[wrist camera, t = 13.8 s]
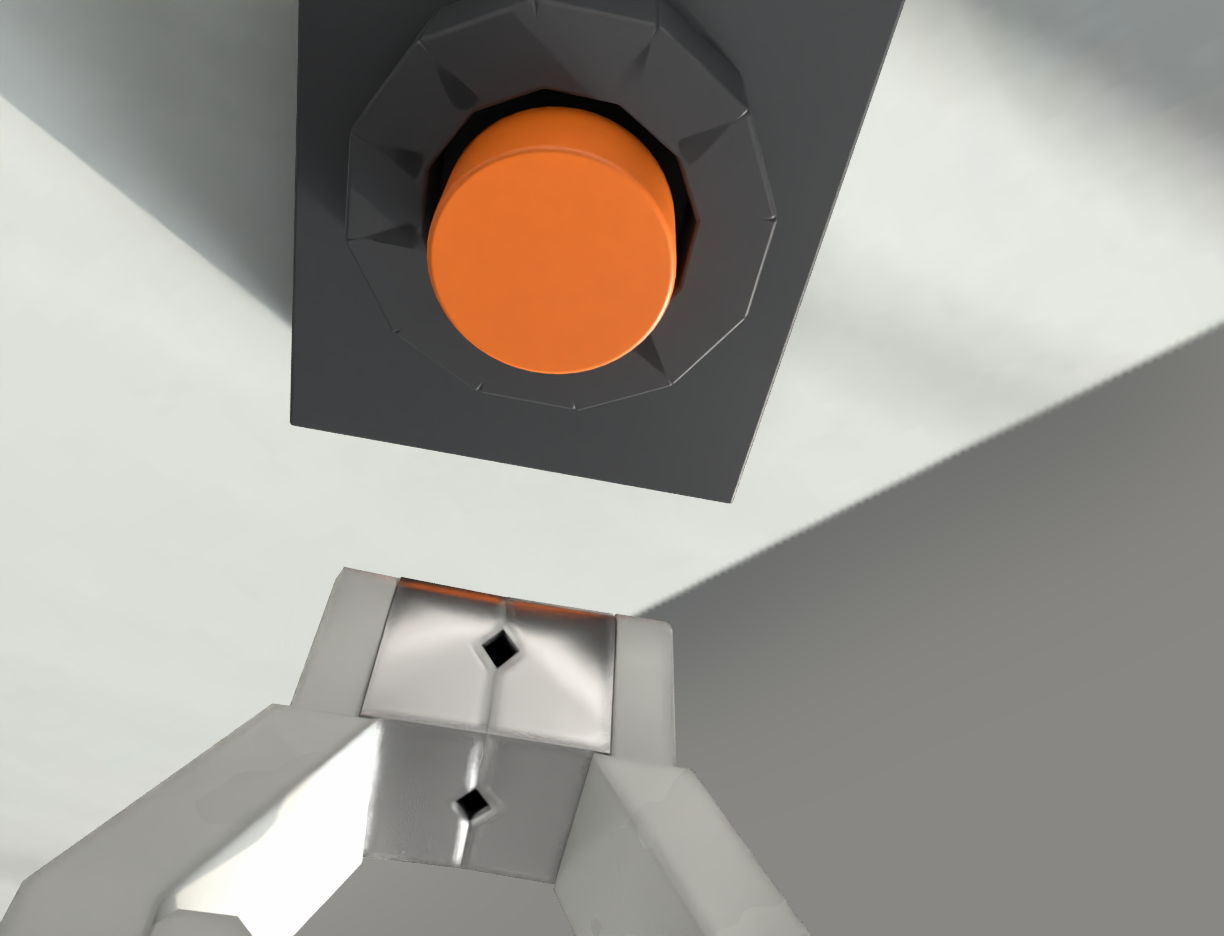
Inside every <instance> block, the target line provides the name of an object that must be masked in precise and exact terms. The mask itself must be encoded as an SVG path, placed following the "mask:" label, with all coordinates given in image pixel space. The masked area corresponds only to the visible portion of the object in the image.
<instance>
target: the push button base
mask: <svg viewBox="0 0 1224 936" xmlns="http://www.w3.org/2000/svg"><path fill="white" fill-rule="evenodd" d="M904 2H905V0H299V19H298V67H297V114H296V162H295V209H294V257H293V305H292V352H291V400H290V423H291V425H294V426H299V427H305V428H310V429H316V430H321V431H327V432H333V433H338V434H344V435H349V436H355V437H361V438H366V439H372V440H377V441H383V442H389V443H394V444H400V445H405V446H411V447H417V448H422V449H428V450H433V451H439V452H444V453H450V454H456V455H461V456H467V457H472V458H478V459H484V460H489V461H495V462H500V463H506V464H512V465H517V466H523V467H528V468H534V469H540V470H545V471H551V472H556V473H562V474H567V475H573V476H579V477H584V478H590V479H595V480H601V481H607V482H612V483H618V484H623V485H629V486H635V487H640V488H646V489H651V490H657V491H662V492H668V493H674V494H679V495H685V496H690V497H696V498H702V499H707V500H713V501H718V502H724V503H732V502H733V499H734V497H735V494H736V491H737V488H738V485H739V482H740V479H741V476H742V473H743V470H744V467H745V465H746V462H747V459H748V456H749V453H750V450H751V447H752V444H753V441H754V438H755V436H756V433H757V430H758V427H759V424H760V421H761V418H762V415H763V412H764V409H765V406H766V404H767V401H768V398H769V395H770V392H771V389H772V386H773V383H774V380H775V377H776V374H777V372H778V369H779V366H780V363H781V360H782V357H783V354H784V351H785V348H786V345H787V342H788V340H789V337H790V334H791V331H792V328H793V325H794V322H795V319H796V316H797V313H798V311H799V308H800V305H801V302H802V299H803V296H804V293H805V290H806V287H807V284H808V281H809V279H810V276H811V273H812V270H813V267H814V264H815V261H816V258H817V255H818V252H819V249H820V247H821V244H822V241H823V238H824V235H825V232H826V229H827V226H828V223H829V220H830V218H831V215H832V212H833V209H834V206H835V203H836V200H837V197H838V194H839V191H840V188H841V186H842V183H843V180H844V177H845V174H846V171H847V168H848V165H849V162H850V159H851V156H852V154H853V151H854V148H855V145H856V142H857V139H858V136H859V133H860V130H861V127H862V125H863V122H864V119H865V116H866V113H867V110H868V107H869V104H870V101H871V98H872V95H873V93H874V90H875V87H876V84H877V81H878V78H879V75H880V72H881V69H882V66H883V63H884V61H885V58H886V55H887V52H888V49H889V46H890V43H891V40H892V37H893V34H894V31H895V29H896V26H897V23H898V20H899V17H900V14H901V11H902V8H903V5H904ZM547 106H558V107H570V108H577V109H582V110H586V111H589V112H593V113H596V114H598V115H601V116H603V117H606V118H608V119H610V120H612V121H614V122H615V123H617V124H619V125H620V126H622V127H624V128H625V129H626V130H628V131H629V132H630V133H632V134H633V135H634V136H635V137H637V138H638V139H639V140H640V141H641V142H642V143H643V144H644V145H645V146H646V147H647V148H648V150H649V151H650V152H651V154H652V155H653V156H654V158H655V159H656V160H657V162H658V164H659V165H660V167H661V169H662V171H663V173H664V174H665V177H666V179H667V182H668V185H669V187H670V190H671V195H672V199H673V203H674V213H675V234H676V278H675V283H674V289H673V292H672V295H671V298H670V301H669V304H668V306H667V308H666V310H665V312H664V314H663V316H662V318H661V319H660V321H659V322H658V324H657V325H656V327H655V328H654V329H653V330H652V332H651V333H650V334H649V335H648V336H647V337H646V338H645V339H644V340H643V341H642V342H641V343H640V344H638V345H637V346H636V347H635V348H634V349H633V350H631V351H630V352H628V353H627V354H625V355H623V356H622V357H620V358H619V359H617V360H615V361H612V362H610V363H608V364H606V365H603V366H600V367H598V368H595V369H591V370H587V371H582V372H577V373H567V374H546V373H539V372H532V371H528V370H524V369H519V368H516V367H513V366H511V365H508V364H505V363H503V362H501V361H499V360H497V359H495V358H493V357H491V356H489V355H488V354H486V353H484V352H483V351H481V350H480V349H478V348H477V347H476V346H474V345H473V344H472V343H471V342H470V341H468V340H467V339H466V338H465V337H464V336H463V335H462V334H461V333H460V332H459V331H458V330H457V329H456V328H455V326H454V325H453V324H452V322H451V321H450V320H449V318H448V317H447V316H446V314H445V312H444V311H443V309H442V307H441V305H440V303H439V302H438V300H437V297H436V295H435V292H434V290H433V287H432V284H431V280H430V276H429V272H428V263H427V241H428V235H429V229H430V225H431V222H432V219H433V216H434V213H435V211H436V208H437V206H438V204H439V201H440V199H441V196H442V194H443V191H444V189H445V187H446V184H447V182H448V179H449V177H450V175H451V172H452V170H453V168H454V166H455V164H456V162H457V160H458V158H459V157H460V155H461V154H462V153H463V151H464V150H465V148H466V147H467V146H468V145H469V144H470V142H471V141H472V140H473V139H474V138H475V137H476V136H477V135H478V134H480V133H481V132H482V131H483V130H485V129H486V128H487V127H488V126H490V125H492V124H493V123H495V122H497V121H498V120H500V119H502V118H504V117H506V116H509V115H511V114H514V113H516V112H520V111H524V110H527V109H531V108H539V107H547Z"/></svg>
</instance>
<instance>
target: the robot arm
mask: <svg viewBox="0 0 1224 936" xmlns="http://www.w3.org/2000/svg"><path fill="white" fill-rule="evenodd" d="M673 669H674V668H673V631H672V629H671V627H670V625H669V623H668V622H664V621H658V620H652V619H645V618H639V617H632V616H626V615H619V614H616V615H615V616H613V614H610V613H604V612H598V611H592V610H585V609H579V608H573V607H567V606H560V605H554V604H548V603H542V602H535V601H529V600H523V599H517V598H510V597H508V598H507V597H502V596H497V595H492V594H486V593H481V592H476V591H471V590H466V589H460V588H455V587H450V586H445V585H440V584H435V583H429V582H424V581H419V580H414V579H409V578H404V577H401V578H396V577H391V576H386V575H381V574H376V573H371V572H366V571H361V570H356V569H351V568H346V567H344V568H343V570H342V571H341V572H340V574H339V575H338V577H337V578H336V580H335V583H334V585H333V588H332V591H331V594H330V596H329V599H328V602H327V605H326V608H325V610H324V613H323V616H322V619H321V621H320V624H319V627H318V630H317V632H316V635H315V638H314V641H313V644H312V646H311V649H310V652H309V655H308V657H307V660H306V663H305V666H304V668H303V671H302V674H301V677H300V679H299V682H298V685H297V688H296V691H295V693H294V696H293V699H292V702H291V704H290V706H287V705H279V704H271V705H270V706H268V707H267V708H266V709H264V710H263V711H261V712H260V713H258V714H257V715H256V716H254V717H253V718H251V719H250V720H249V721H247V722H246V723H244V724H243V725H242V726H240V727H239V728H237V729H236V730H235V731H233V732H232V733H230V734H229V735H228V736H226V737H225V738H223V739H222V740H220V741H219V742H218V743H216V744H215V745H213V746H212V747H211V748H209V749H208V750H206V751H205V752H204V753H202V754H201V755H199V756H198V757H197V758H195V759H194V760H192V761H191V762H190V763H188V764H187V765H185V766H184V767H183V768H181V769H180V770H178V771H177V772H175V773H174V774H173V775H171V776H170V777H168V778H167V779H166V780H164V781H163V782H161V783H160V784H159V785H157V786H156V787H154V788H153V789H152V790H150V791H149V792H147V793H146V794H145V795H143V796H142V797H140V798H139V799H137V800H136V801H135V802H133V803H132V804H130V805H129V806H128V807H126V808H125V809H123V810H122V811H121V812H119V813H118V814H116V815H115V816H114V817H112V818H111V819H109V820H108V821H107V822H105V823H104V824H102V825H101V826H100V827H98V828H97V829H95V830H94V831H92V832H91V833H90V834H88V835H87V836H85V837H84V838H83V839H81V840H80V841H78V842H77V843H76V844H74V845H73V846H71V847H70V848H69V849H67V850H66V851H64V852H63V853H62V854H60V855H59V856H57V857H56V858H54V859H53V860H52V861H50V862H49V863H47V864H46V865H45V866H43V867H42V868H40V869H39V870H38V871H36V872H35V873H33V874H32V875H31V876H29V877H28V878H26V879H25V880H24V881H23V882H22V884H21V886H20V887H19V889H18V891H17V893H16V895H15V897H14V899H13V900H12V902H11V904H10V906H9V908H8V910H7V912H6V913H5V915H4V917H3V919H2V921H1V923H0V936H293V935H294V934H295V933H296V932H297V931H298V930H299V929H300V928H301V927H302V926H303V925H304V924H305V923H306V922H307V921H308V920H309V918H310V917H311V916H312V915H313V914H314V913H315V912H316V911H317V910H318V909H319V908H320V907H321V906H322V905H323V904H324V902H326V900H327V899H328V898H329V897H330V896H331V895H332V894H333V893H334V892H335V891H336V890H337V889H338V888H339V887H340V885H342V883H343V882H344V881H345V880H346V879H347V878H348V877H349V876H350V875H351V874H352V873H353V872H354V871H355V870H356V869H357V868H358V867H359V865H360V864H361V863H362V857H370V858H379V859H387V860H395V861H405V862H412V863H421V864H430V865H438V866H447V867H455V868H462V869H468V870H474V871H479V872H485V873H491V874H497V875H503V876H508V877H515V878H520V879H526V880H532V881H537V882H543V883H549V884H555V885H554V888H553V889H554V892H555V894H556V896H557V898H558V900H559V903H560V905H561V907H562V909H563V911H564V913H565V916H566V918H567V920H568V922H569V925H570V927H571V929H572V931H573V933H574V936H811V935H810V933H809V932H808V931H807V929H806V928H805V926H804V925H803V923H802V922H801V921H800V919H799V918H798V916H797V915H796V914H795V912H794V911H793V909H792V908H791V907H790V905H789V904H788V902H787V901H786V900H785V898H784V897H783V895H782V894H781V893H780V891H779V890H778V889H777V887H776V886H775V884H774V883H773V881H772V880H771V879H770V877H769V876H768V875H767V873H766V872H765V870H764V869H763V867H762V866H761V865H760V863H759V862H758V860H757V859H756V858H755V857H754V855H753V854H752V852H751V851H750V850H749V848H748V846H747V845H746V844H745V842H744V841H743V840H742V838H741V837H740V835H739V834H738V832H737V831H736V830H735V828H734V827H733V826H732V824H731V823H730V821H729V820H728V819H727V817H726V816H725V814H724V813H723V811H722V810H721V809H720V807H719V806H718V805H717V803H716V802H715V801H714V799H713V798H712V796H711V795H710V793H709V792H708V791H707V789H706V788H705V786H704V785H703V784H702V782H701V781H700V780H699V778H698V777H697V775H696V774H695V772H694V771H693V770H692V769H687V768H682V767H676V750H675V711H674V670H673ZM460 864H461V865H460Z"/></svg>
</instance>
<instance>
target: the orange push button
mask: <svg viewBox="0 0 1224 936" xmlns="http://www.w3.org/2000/svg"><path fill="white" fill-rule="evenodd" d="M427 263H428V272H429V276H430V280H431V284H432V287H433V290H434V292H435V295H436V297H437V300H438V302H439V303H440V305H441V307H442V309H443V311H444V312H445V314H446V316H447V317H448V318H449V320H450V321H451V322H452V324H453V325H454V326H455V328H456V329H457V330H458V331H459V332H460V333H461V334H462V335H463V336H464V337H465V338H466V339H467V340H468V341H470V342H471V343H472V344H473V345H474V346H476V347H477V348H478V349H480V350H481V351H483V352H484V353H486V354H488V355H489V356H491V357H493V358H495V359H497V360H499V361H501V362H503V363H505V364H508V365H511V366H513V367H516V368H519V369H524V370H528V371H532V372H539V373H546V374H567V373H577V372H582V371H587V370H591V369H595V368H598V367H600V366H603V365H606V364H608V363H610V362H612V361H615V360H617V359H619V358H620V357H622V356H623V355H625V354H627V353H628V352H630V351H631V350H633V349H634V348H635V347H636V346H637V345H638V344H640V343H641V342H642V341H643V340H644V339H645V338H646V337H647V336H648V335H649V334H650V333H651V332H652V330H653V329H654V328H655V327H656V325H657V324H658V322H659V321H660V319H661V318H662V316H663V314H664V312H665V310H666V308H667V306H668V304H669V301H670V298H671V295H672V292H673V289H674V283H675V278H676V234H675V213H674V203H673V199H672V195H671V190H670V187H669V185H668V182H667V179H666V177H665V174H664V173H663V171H662V169H661V167H660V165H659V164H658V162H657V160H656V159H655V158H654V156H653V155H652V154H651V152H650V151H649V150H648V148H647V147H646V146H645V145H644V144H643V143H642V142H641V141H640V140H639V139H638V138H637V137H635V136H634V135H633V134H632V133H630V132H629V131H628V130H626V129H625V128H624V127H622V126H620V125H619V124H617V123H615V122H614V121H612V120H610V119H608V118H606V117H603V116H601V115H598V114H596V113H593V112H589V111H586V110H582V109H577V108H570V107H558V106H547V107H539V108H531V109H527V110H524V111H520V112H516V113H514V114H511V115H509V116H506V117H504V118H502V119H500V120H498V121H497V122H495V123H493V124H492V125H490V126H488V127H487V128H486V129H485V130H483V131H482V132H481V133H480V134H478V135H477V136H476V137H475V138H474V139H473V140H472V141H471V142H470V144H469V145H468V146H467V147H466V148H465V150H464V151H463V153H462V154H461V155H460V157H459V158H458V160H457V162H456V164H455V166H454V168H453V170H452V172H451V175H450V177H449V179H448V182H447V184H446V187H445V189H444V191H443V194H442V196H441V199H440V201H439V204H438V206H437V208H436V211H435V213H434V216H433V219H432V222H431V225H430V229H429V235H428V241H427Z"/></svg>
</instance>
